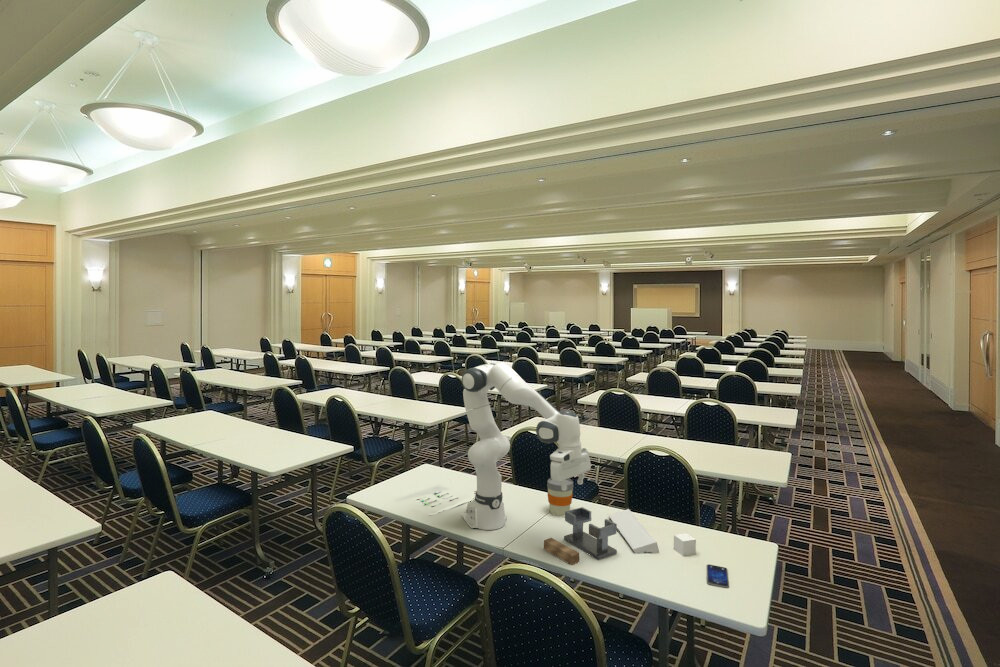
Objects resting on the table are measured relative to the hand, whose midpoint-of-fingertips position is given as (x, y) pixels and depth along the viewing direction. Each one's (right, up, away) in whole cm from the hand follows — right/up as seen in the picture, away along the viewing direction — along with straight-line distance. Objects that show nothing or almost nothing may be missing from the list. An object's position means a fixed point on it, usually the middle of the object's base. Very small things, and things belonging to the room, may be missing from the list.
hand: (572, 487), depth 203 cm
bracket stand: (+8, -26, +7) cm, 28 cm away
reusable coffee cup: (0, -25, +42) cm, 49 cm away
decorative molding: (+28, -27, +19) cm, 44 cm away
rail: (-5, -27, -1) cm, 27 cm away
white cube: (+46, -27, +4) cm, 53 cm away
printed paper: (-61, -24, +56) cm, 87 cm away
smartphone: (+51, -29, -15) cm, 60 cm away
